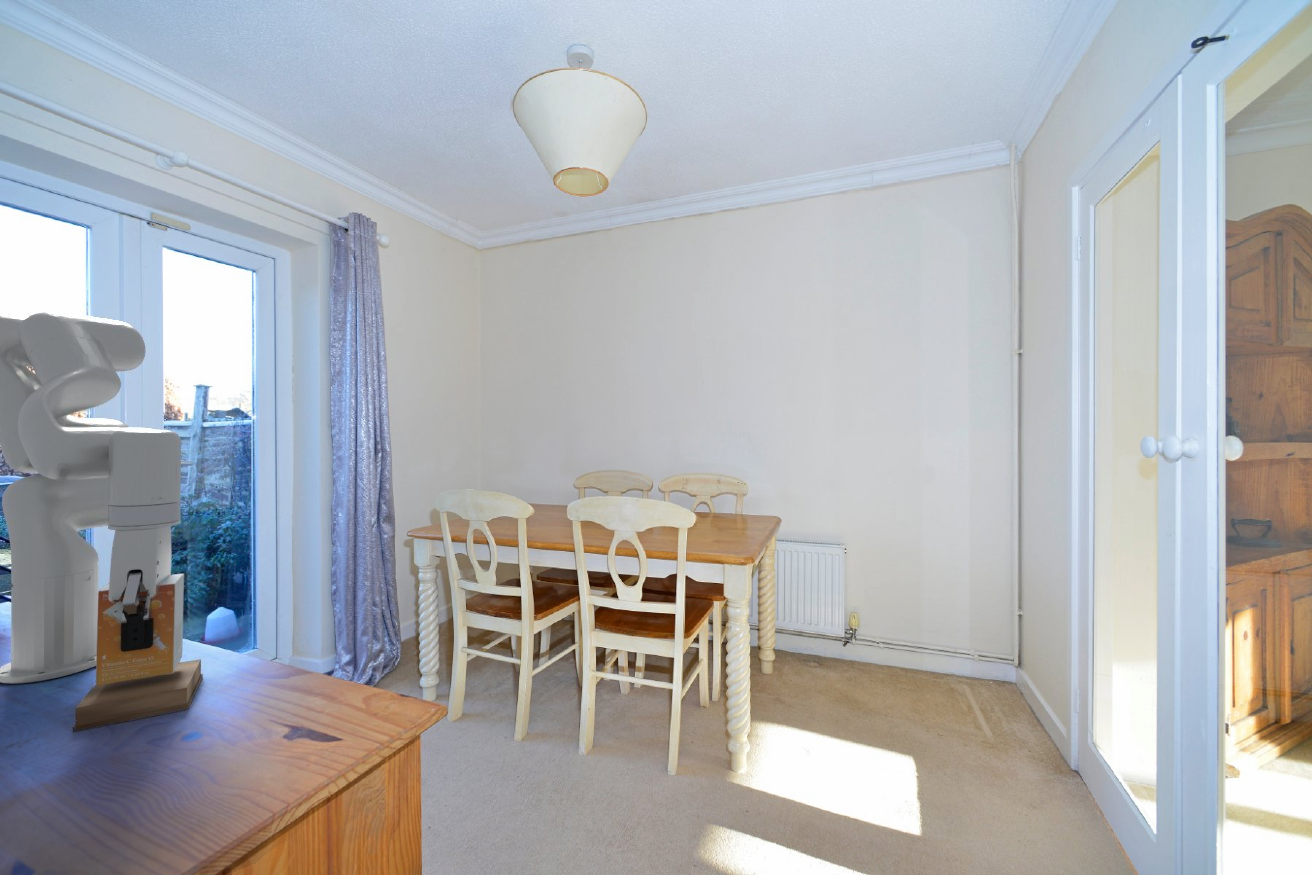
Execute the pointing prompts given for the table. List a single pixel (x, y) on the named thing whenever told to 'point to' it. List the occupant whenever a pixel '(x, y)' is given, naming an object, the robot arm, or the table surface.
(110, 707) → the plinth
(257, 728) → the table surface
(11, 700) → the table surface
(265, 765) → the table surface
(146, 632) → the robot arm
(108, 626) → the small box
